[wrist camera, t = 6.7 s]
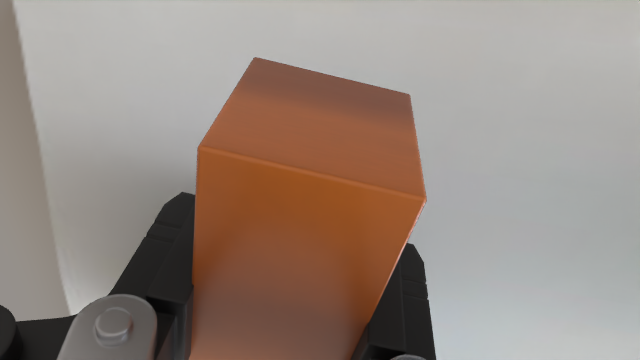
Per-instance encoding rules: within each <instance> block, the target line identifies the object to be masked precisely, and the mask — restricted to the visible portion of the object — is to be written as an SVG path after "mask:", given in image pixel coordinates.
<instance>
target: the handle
mask: <svg viewBox="0 0 640 360" xmlns="http://www.w3.org/2000/svg"><path fill="white" fill-rule="evenodd" d="M426 201H427V198H426V192H425V185H424V179H423V173H422V167H421V161H420V154H419V148H418V142H417V136H416V129H415V123H414V117H413V111H412V104H411V98H410V95H409V94H406V93H402V92H398V91H393V90H389V89H385V88H381V87H377V86H373V85H369V84H365V83H360V82H356V81H352V80H348V79H344V78H340V77H336V76H331V75H327V74H323V73H319V72H315V71H311V70H307V69H302V68H298V67H294V66H290V65H286V64H282V63H278V62H273V61H269V60H265V59H261V58H257V57H255V58H253V60H252V61H251V63H250V65H249V66H248V68H247V69H246V71H245V73H244V74H243V76H242V77H241V79H240V81H239V82H238V84H237V85H236V87H235V89H234V90H233V92H232V93H231V95H230V97H229V98H228V100H227V101H226V103H225V105H224V106H223V108H222V109H221V111H220V113H219V114H218V116H217V117H216V119H215V121H214V122H213V124H212V125H211V127H210V129H209V130H208V132H207V133H206V135H205V137H204V138H203V140H202V141H201V143H200V145H199V146H198V150H197V173H196V196H195V219H194V242H193V265H192V284H193V285H194V298H193V318H192V338H191V354H190V357H189V360H351V358H352V355H353V353H354V351H355V349H356V347H357V345H358V343H359V341H360V338H361V336H362V334H363V332H364V330H365V328H366V326H367V324H368V323H369V322H370V320H371V318H372V315H373V313H374V311H375V309H376V307H377V305H378V303H379V301H380V298H381V296H382V294H383V292H384V290H385V288H386V286H387V284H388V281H389V279H390V277H391V275H392V273H393V271H394V269H395V267H396V264H397V262H398V260H399V258H400V256H401V254H402V252H403V250H404V248H405V245H406V243H407V241H408V239H409V237H410V235H411V233H412V231H413V228H414V226H415V224H416V222H417V220H418V218H419V216H420V214H421V211H422V209H423V207H424V205H425V203H426Z"/></svg>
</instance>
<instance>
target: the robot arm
mask: <svg viewBox="0 0 640 360" xmlns="http://www.w3.org/2000/svg"><path fill="white" fill-rule="evenodd" d="M195 196H196V195H193V194H189V193H184V192H181V193H180V194H179V195H177V196H176V197H174V198H173V199H171V200H170V201H169V202H167V203H166V204H165V205H164V206H163V208H162V210H161V211H160V213H159V214H158V216H157V218H156V219H155V223H154V224H152V226H151V227H150V229H149V231H148V232H147V235H146V237H144V239H143V240H142V242H141V244H140V245H139V247H138V249H137V250H136V252H135V254H134V255H133V257H132V258H131V260H130V262H129V263H128V265H127V267H126V268H125V270H124V271H123V273H122V275H121V276H120V278H119V280H118V281H117V283H116V284H115V286H114V288H113V289H112V291H111V292H110V293H109V294H108V295H107V296H106V297H103V298H100V299H98V300H96V301H94V302H92V303H90V304H89V305H87V306H86V307H85V308H83V309H82V310H81V311H80V312H79V313H78V314H76V315H73V316H69V317H63V318H54V319H43V320H31V321H19V322H16V321H15V318H14V316H13V315H12V313H11V312H10V311H9V310H8V309H7V308H5V307H3V306H1V305H0V360H189V357H190V354H191V338H192V318H193V298H194V285H193V284H192V265H193V242H194V219H195ZM425 283H426V276H425V269H424V262H423V260H422V259H421V257H420V255H419V253H418V252H417V250H416V248H415V246H414V245H413V244H409V243H406V245H405V248H404V250H403V252H402V254H401V256H400V258H399V260H398V262H397V264H396V267H395V269H394V271H393V273H392V275H391V277H390V279H389V281H388V284H387V286H386V288H385V290H384V292H383V294H382V296H381V298H380V301H379V303H378V305H377V307H376V309H375V311H374V313H373V315H372V318H371V320H370V322H369V323H368V324H367V326H366V328H365V330H364V332H363V334H362V336H361V338H360V341H359V343H358V345H357V347H356V349H355V351H354V353H353V355H352V358H351V360H436V355H435V347H434V339H433V331H432V323H431V316H430V308H429V300H427V298H428V292H427V284H425Z"/></svg>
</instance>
